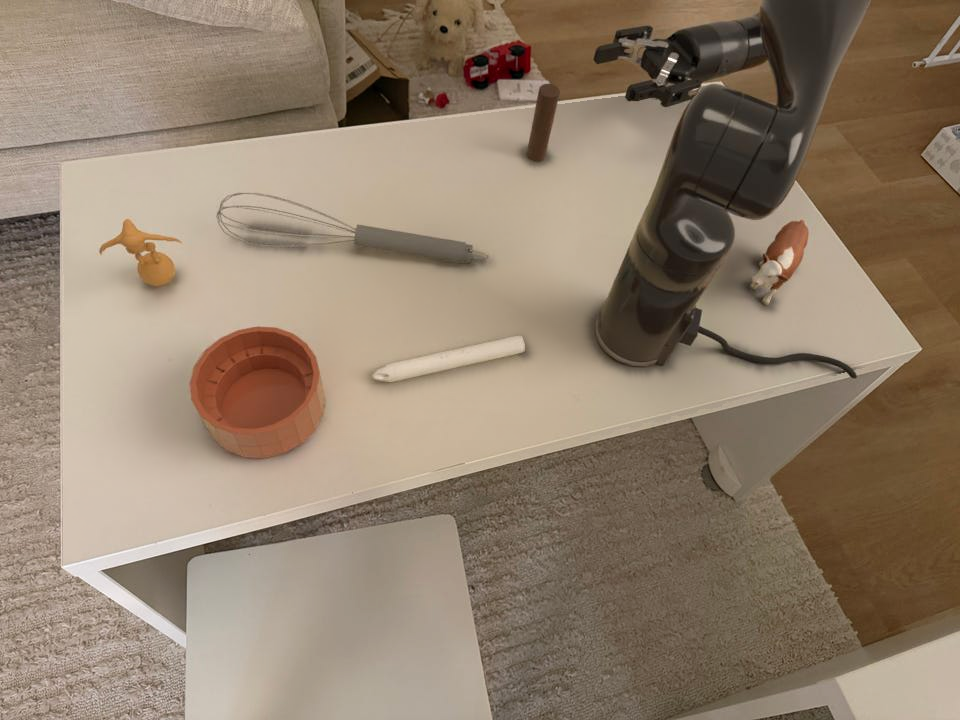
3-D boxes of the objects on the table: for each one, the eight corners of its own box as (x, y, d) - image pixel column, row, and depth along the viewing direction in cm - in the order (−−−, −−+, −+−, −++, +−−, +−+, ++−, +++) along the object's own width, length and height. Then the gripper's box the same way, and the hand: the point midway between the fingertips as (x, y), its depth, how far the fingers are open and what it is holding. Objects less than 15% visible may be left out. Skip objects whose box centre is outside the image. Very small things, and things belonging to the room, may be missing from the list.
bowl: (344, 379, 75) (339, 348, 69) (292, 477, 68) (282, 451, 63) (243, 345, 76) (231, 311, 70) (183, 437, 69) (164, 408, 64)
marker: (373, 389, 74) (372, 379, 72) (369, 374, 75) (368, 363, 73) (523, 355, 79) (526, 344, 77) (517, 341, 80) (520, 330, 78)
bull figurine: (727, 305, 86) (755, 264, 79) (768, 246, 92) (797, 204, 85) (757, 323, 85) (788, 284, 78) (797, 262, 91) (829, 221, 84)
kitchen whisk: (486, 281, 84) (491, 247, 79) (217, 250, 83) (203, 214, 77) (489, 244, 87) (494, 210, 82) (230, 215, 86) (218, 178, 81)
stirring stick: (547, 152, 98) (562, 87, 89) (542, 164, 96) (556, 99, 87) (529, 146, 98) (542, 81, 89) (524, 158, 97) (536, 93, 87)
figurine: (196, 261, 81) (167, 189, 71) (200, 300, 78) (169, 230, 68) (124, 272, 80) (82, 199, 69) (124, 312, 77) (81, 242, 66)
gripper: (687, -1, 95) (591, 19, 91) (747, 58, 89) (647, 82, 84) (670, 47, 102) (579, 68, 97) (724, 105, 96) (630, 130, 91)
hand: (611, 74), depth 91 cm, fingers open, 8 cm apart
